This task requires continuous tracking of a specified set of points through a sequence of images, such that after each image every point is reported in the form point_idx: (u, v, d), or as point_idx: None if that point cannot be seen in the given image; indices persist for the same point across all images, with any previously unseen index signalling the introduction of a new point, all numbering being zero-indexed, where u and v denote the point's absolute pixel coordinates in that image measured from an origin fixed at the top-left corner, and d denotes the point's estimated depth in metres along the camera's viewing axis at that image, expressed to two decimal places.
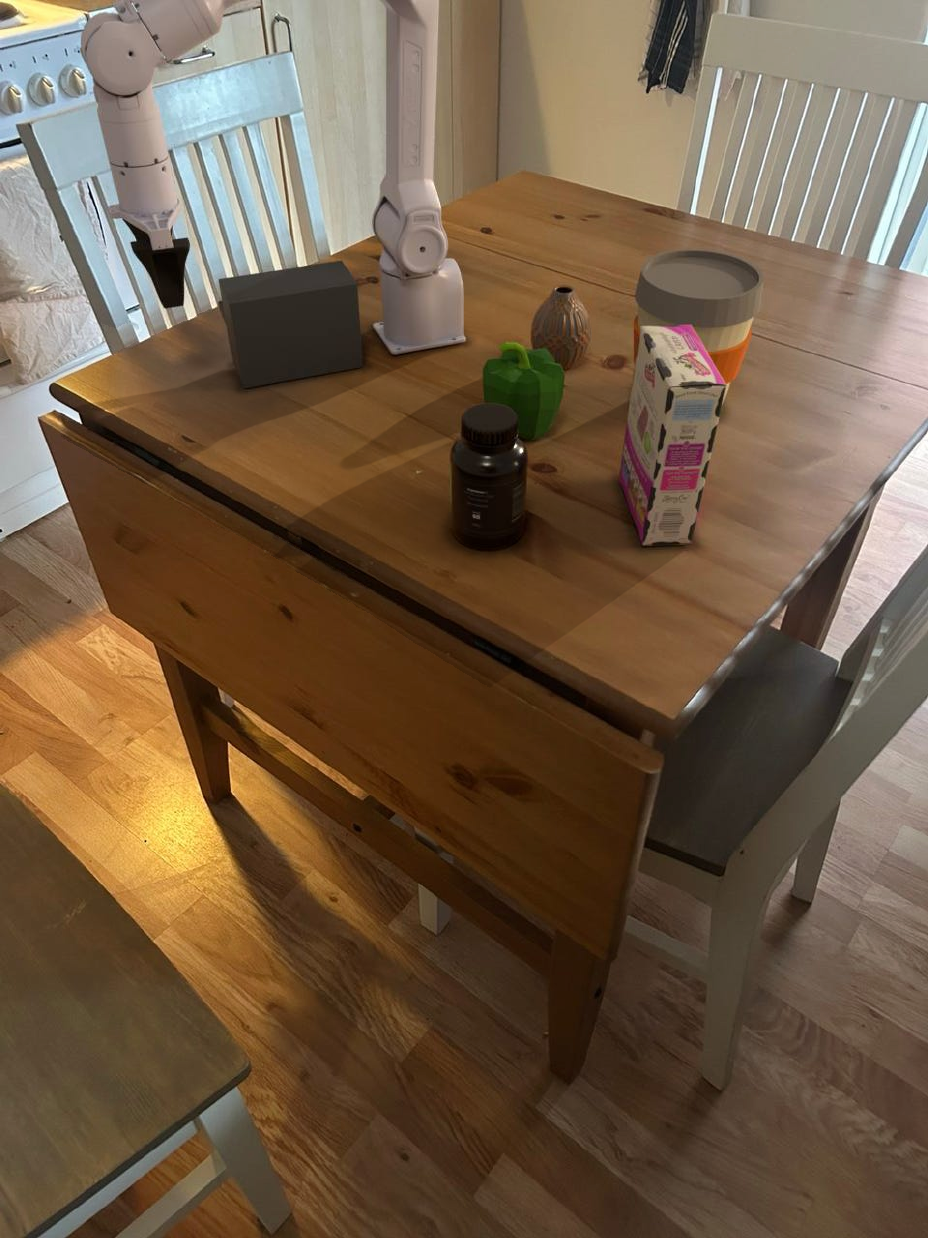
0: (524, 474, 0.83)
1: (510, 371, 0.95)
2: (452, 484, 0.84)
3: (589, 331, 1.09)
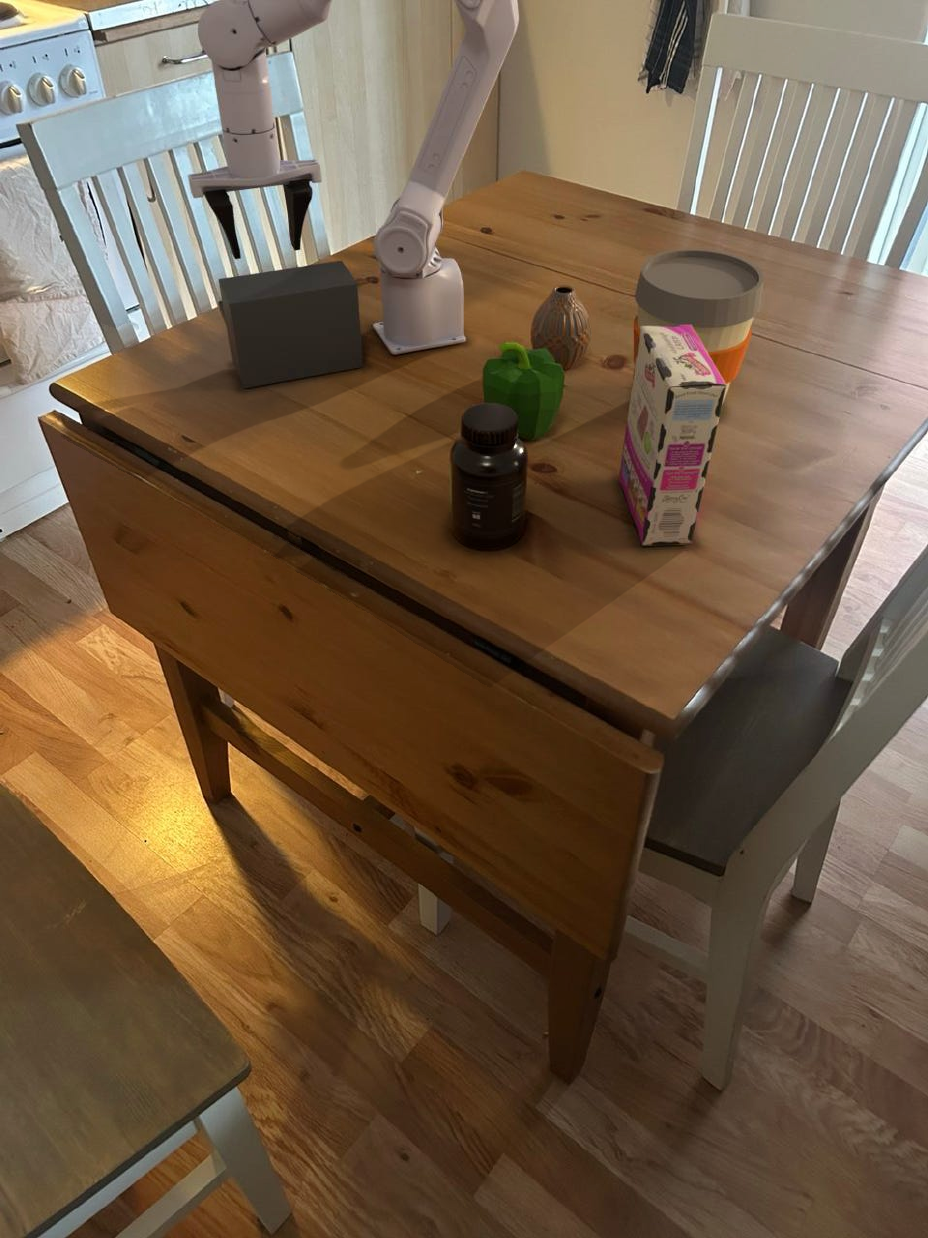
0: (524, 474, 0.83)
1: (510, 371, 0.95)
2: (452, 484, 0.84)
3: (589, 331, 1.09)
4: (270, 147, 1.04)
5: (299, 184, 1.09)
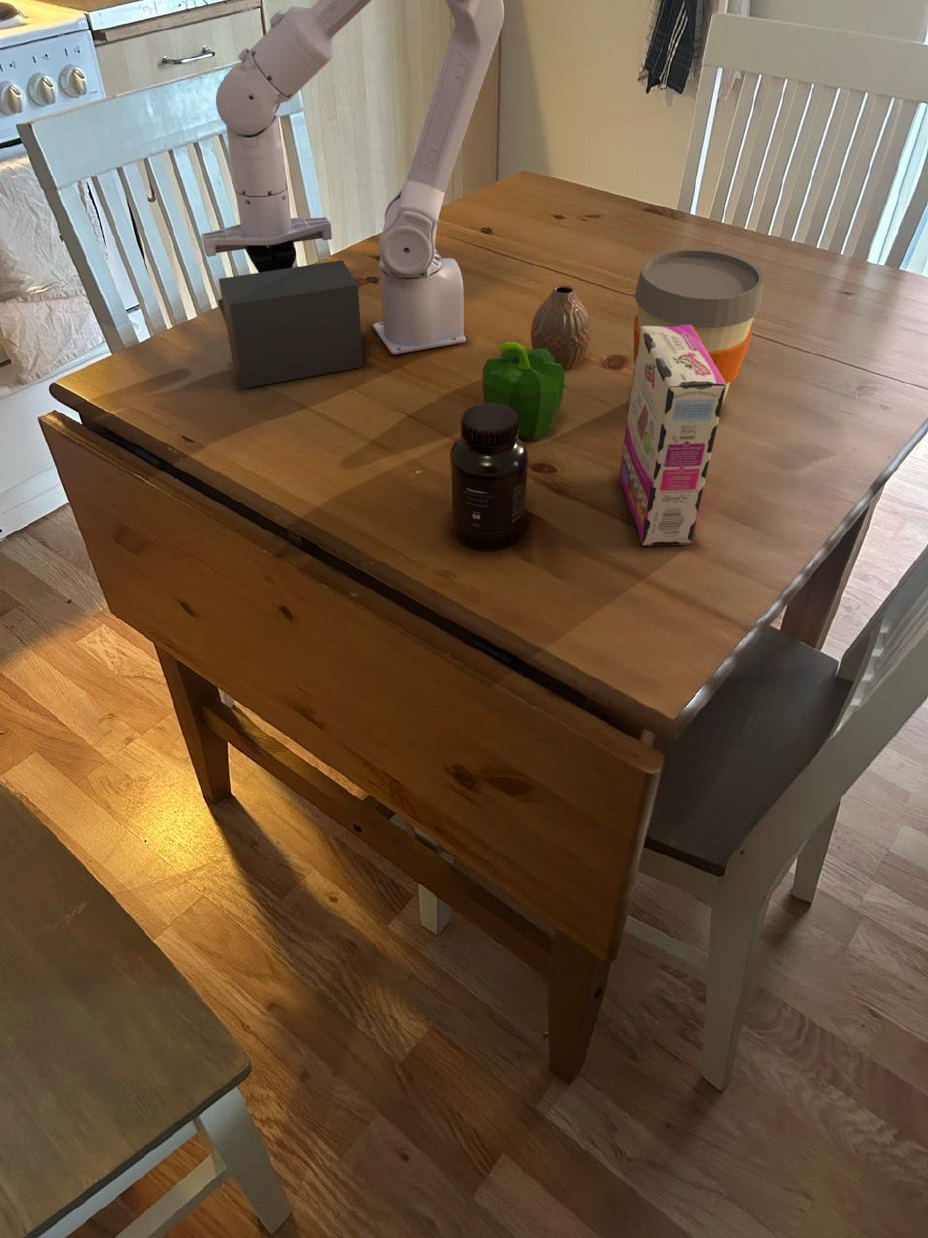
0: (524, 474, 0.83)
1: (510, 371, 0.95)
2: (452, 484, 0.84)
3: (589, 331, 1.09)
4: (282, 208, 1.06)
5: (283, 245, 1.10)
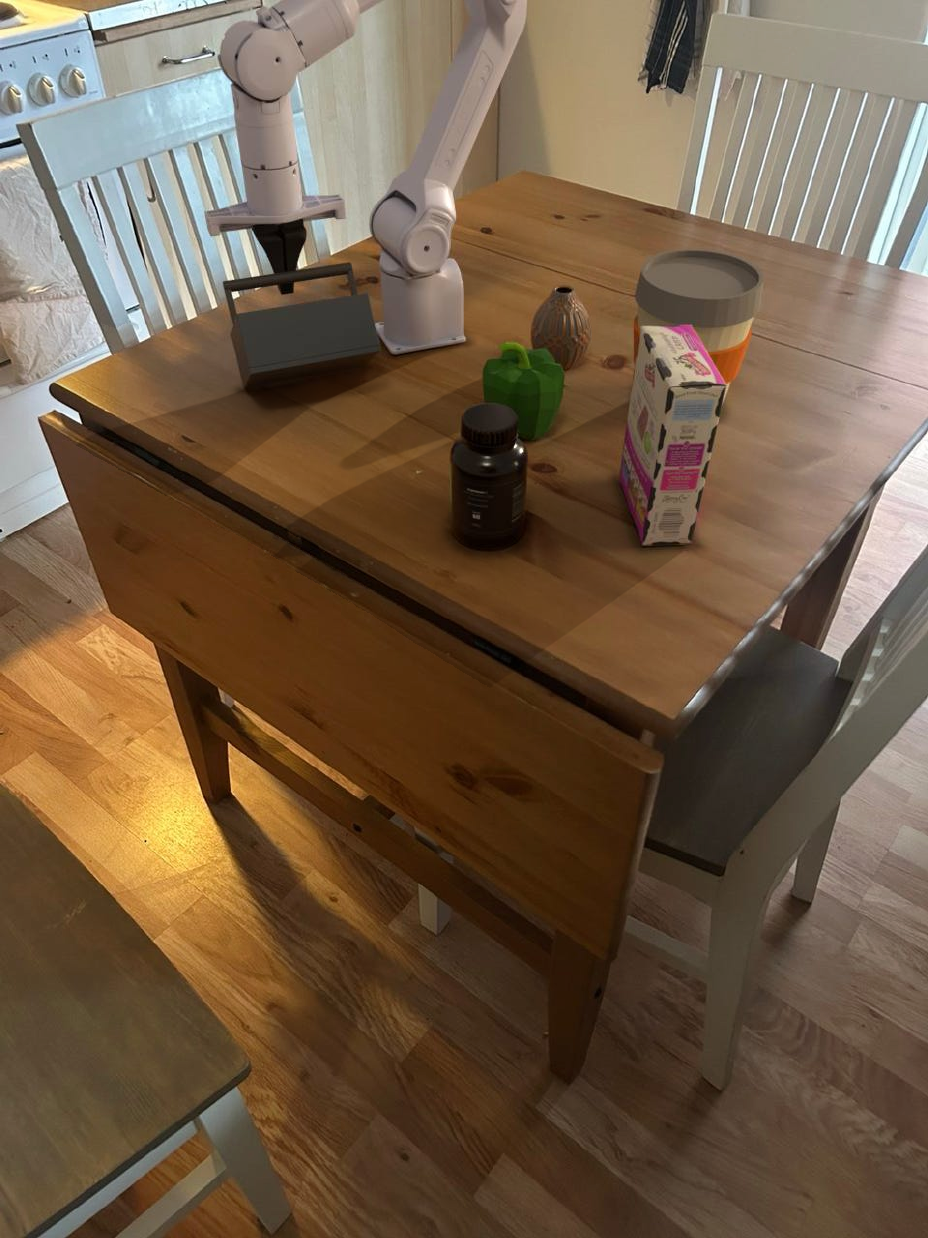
0: (524, 474, 0.83)
1: (510, 371, 0.95)
2: (452, 484, 0.84)
3: (589, 331, 1.09)
4: (293, 183, 0.97)
5: (293, 224, 1.01)
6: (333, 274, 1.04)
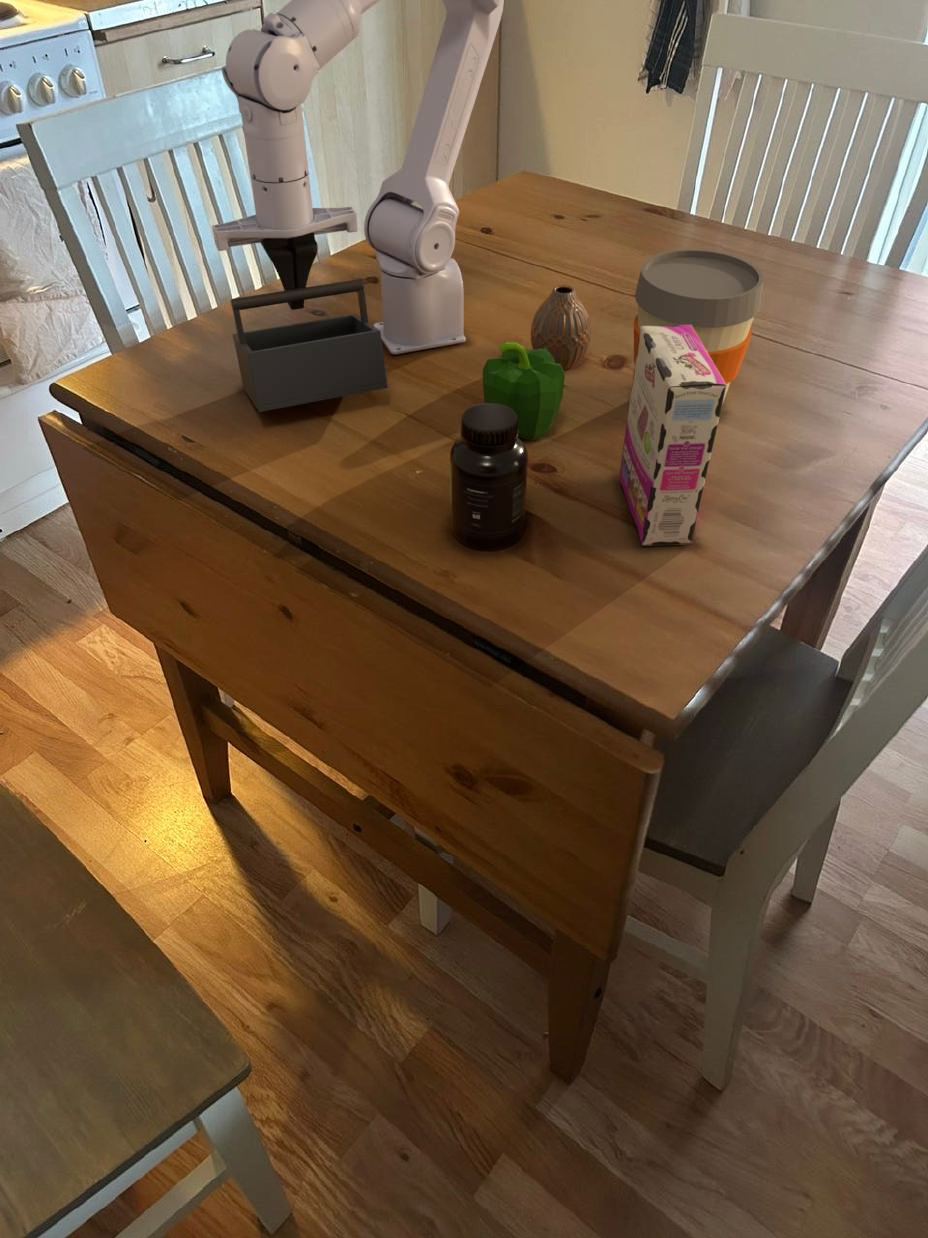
0: (524, 474, 0.83)
1: (510, 371, 0.95)
2: (452, 484, 0.84)
3: (589, 331, 1.09)
4: (303, 195, 0.94)
5: (303, 238, 0.98)
6: (344, 292, 1.02)
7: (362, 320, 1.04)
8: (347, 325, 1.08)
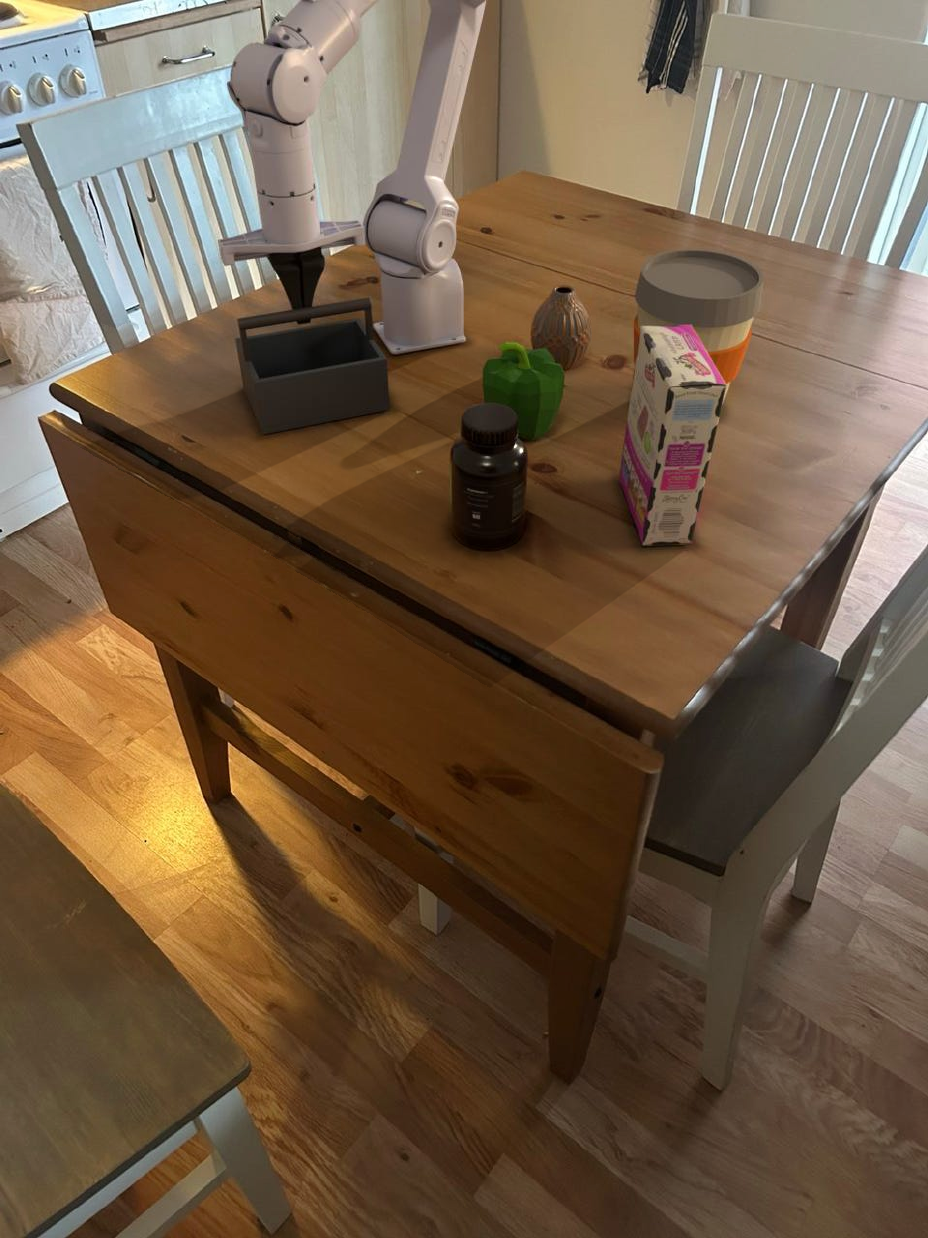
0: (524, 474, 0.83)
1: (510, 371, 0.95)
2: (452, 484, 0.84)
3: (589, 331, 1.09)
4: (311, 210, 0.93)
5: (310, 252, 0.97)
6: None
7: (367, 336, 1.03)
8: (351, 330, 1.07)
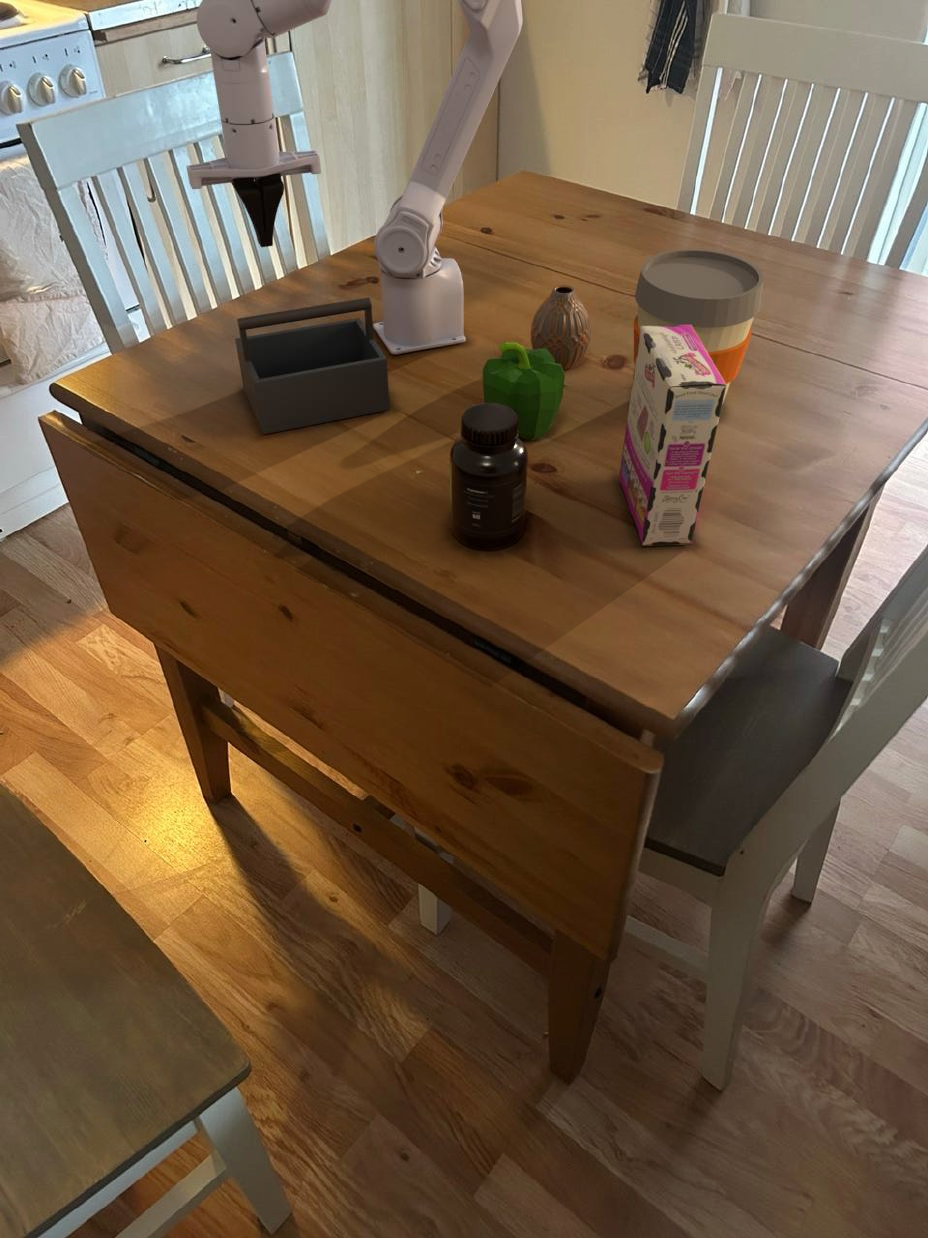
0: (524, 474, 0.83)
1: (510, 371, 0.95)
2: (452, 484, 0.84)
3: (589, 331, 1.09)
4: (270, 137, 1.03)
5: (271, 178, 1.07)
6: None
7: (367, 336, 1.03)
8: (351, 330, 1.07)
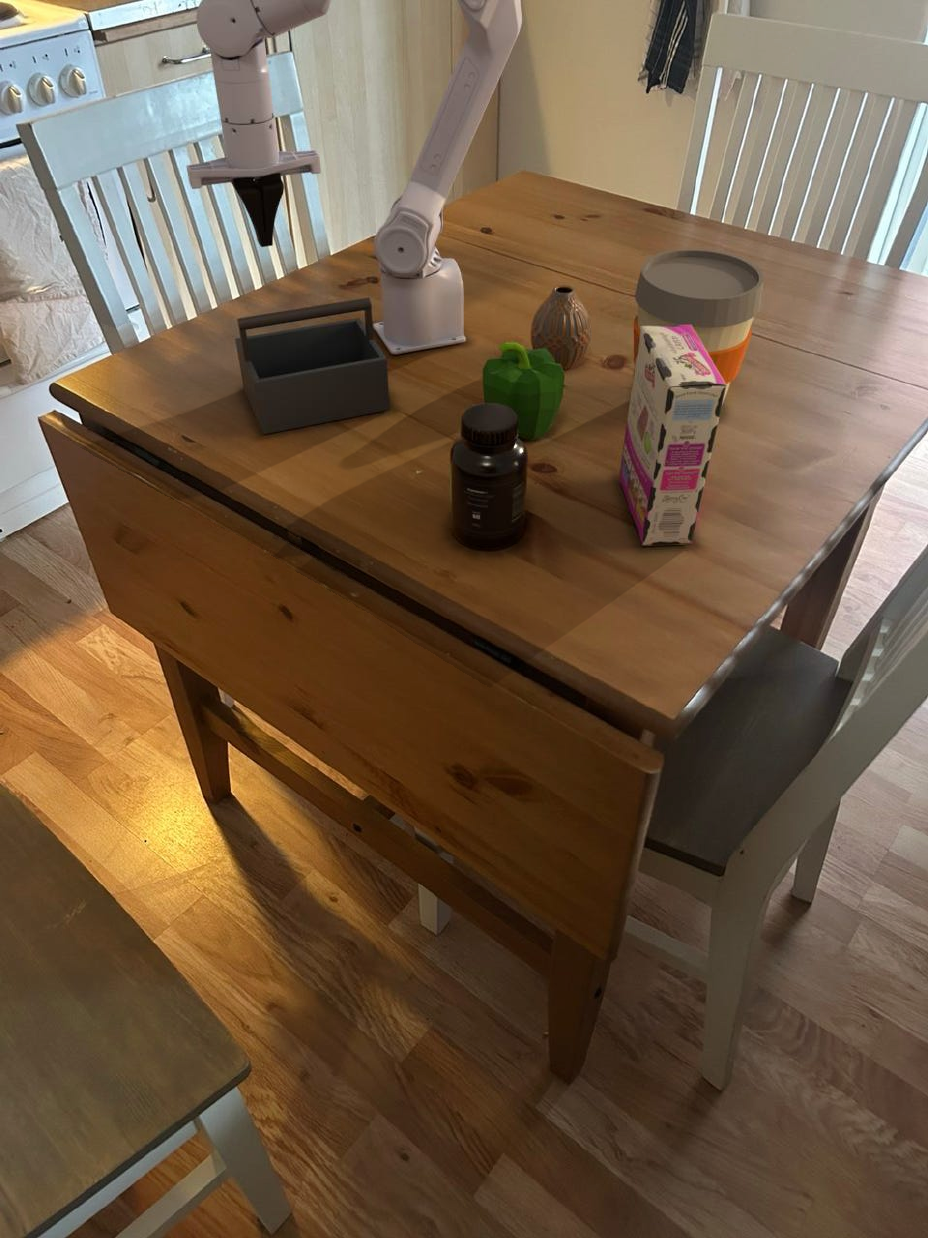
0: (524, 474, 0.83)
1: (510, 371, 0.95)
2: (452, 484, 0.84)
3: (589, 331, 1.09)
4: (269, 137, 1.03)
5: (271, 178, 1.07)
6: None
7: (367, 336, 1.03)
8: (351, 330, 1.07)
